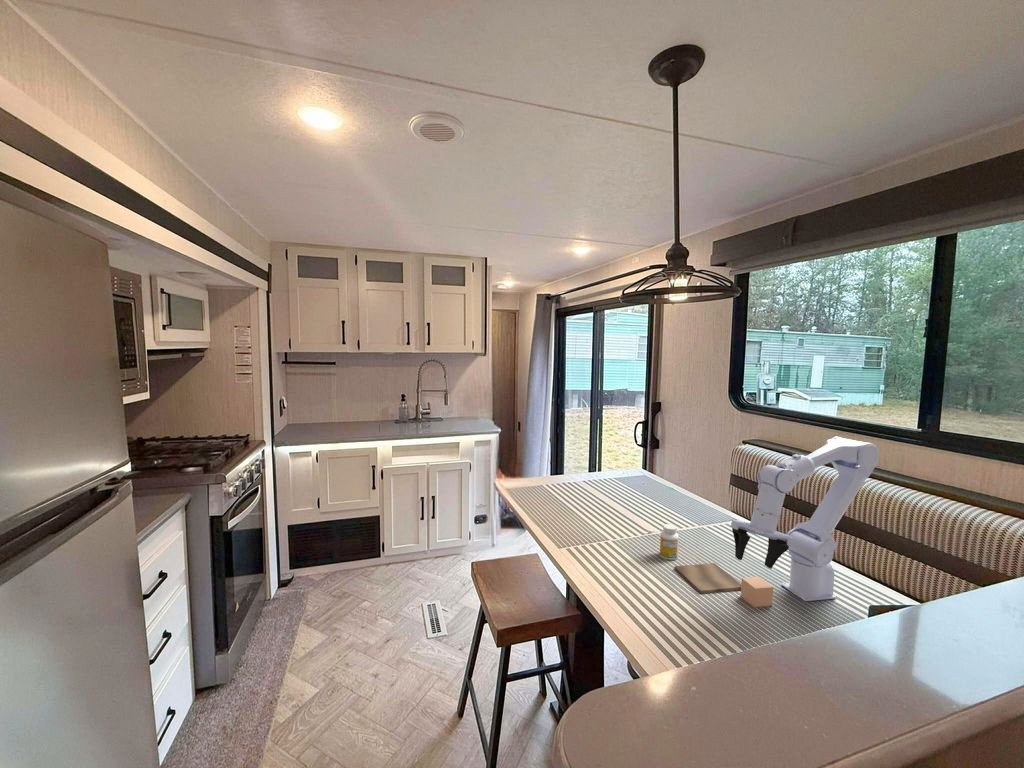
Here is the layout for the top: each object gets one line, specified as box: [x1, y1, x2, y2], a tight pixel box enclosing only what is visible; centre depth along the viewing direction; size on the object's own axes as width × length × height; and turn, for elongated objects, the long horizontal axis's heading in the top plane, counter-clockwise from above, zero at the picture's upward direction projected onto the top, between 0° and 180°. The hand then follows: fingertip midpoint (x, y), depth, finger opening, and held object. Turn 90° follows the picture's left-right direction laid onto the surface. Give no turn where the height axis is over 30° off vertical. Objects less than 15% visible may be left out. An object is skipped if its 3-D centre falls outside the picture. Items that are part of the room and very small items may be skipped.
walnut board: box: [673, 562, 741, 594], centre depth 118 cm, size 13×13×1 cm
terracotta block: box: [740, 576, 774, 608], centre depth 108 cm, size 5×5×5 cm
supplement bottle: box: [659, 523, 680, 561], centre depth 131 cm, size 5×5×10 cm
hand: (753, 562), depth 107 cm, fingers open, 7 cm apart
